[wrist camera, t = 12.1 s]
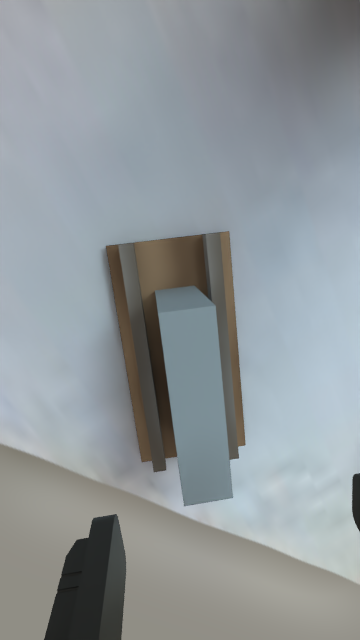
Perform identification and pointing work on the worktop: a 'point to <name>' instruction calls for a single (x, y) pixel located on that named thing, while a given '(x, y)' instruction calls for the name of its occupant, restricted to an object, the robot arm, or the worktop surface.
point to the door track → (145, 338)
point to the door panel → (195, 393)
